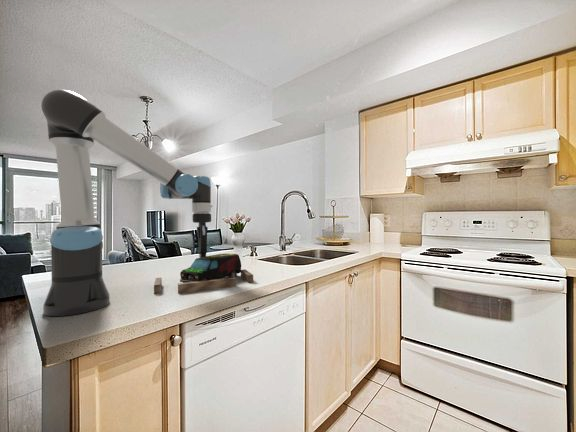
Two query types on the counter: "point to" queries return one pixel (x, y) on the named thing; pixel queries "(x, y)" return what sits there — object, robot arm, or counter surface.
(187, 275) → the toy van
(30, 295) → the counter surface
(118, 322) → the counter surface
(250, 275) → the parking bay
